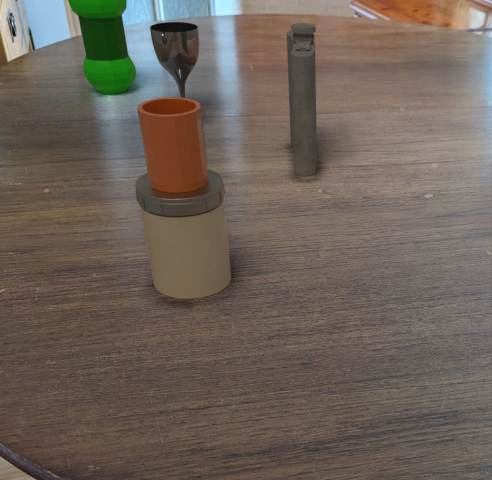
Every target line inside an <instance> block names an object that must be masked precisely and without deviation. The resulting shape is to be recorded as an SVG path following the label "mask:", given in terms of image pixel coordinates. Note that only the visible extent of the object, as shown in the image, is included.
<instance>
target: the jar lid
mask: <svg viewBox="0 0 492 480" xmlns="http://www.w3.org/2000/svg"><path fill="white" fill-rule="evenodd" d="M208 178H209V181H208V183H207V184H206V185H205V186H204V187H202V188H200V189H197V190H194V191H189V192H181V193H170V192H163V191H159V190H156V189H154V188H153V187H152V186H151V185H150V181H149V178H148V172H146V173H143V174H142V175H141V176H139V177H138V178H137V180H136V181H135V184H134V188H135V197H136V202H137V203H138V205H139V207H140V206H141V207H142V208H143V209H144V210H146V211H148V212H151V213H154V214H159V215H166V216H187V215H194V214H199V213H203V212H206V211H209V210H211V209H213V208H215V207H217V206H218V205H220V204H221V203H222V202H223V200H224V201H225V194H226V191H225V183H224V179H223V176H222V175H221V174H220V173H218V172H217V171H215V170H212V169H209V168H208Z"/></svg>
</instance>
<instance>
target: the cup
mask: <svg viewBox="0 0 492 480" xmlns="http://www.w3.org/2000/svg"><path fill="white" fill-rule="evenodd" d="M136 112H137V116H138V123H139V128H140V134H141V141H142V147H143V153H144V160H145V165H146V171H147V172H146V173H148V178H149V181H150V185H151V186H152V187H153V188H154V189H156V190H159V191H163V192H170V193H181V192H189V191H194V190H197V189H200V188H202V187H204V186H205V185H206V184H207V183H208V181H209V178H208V169H209V168H208V166H209V165H208V158H207V150H206V149H207V148H206V140H205V132H204V121H203V119H202V112H203V111H202V106H201V103H200V102H198V101H197V100H195V99H191V98H188V97H187V98H186V97H185V98H181V97H180V96H166V97H165V96H164V97H157V98H152V99H148V100H144V101H143V102H141V103H139V104H138V105H137V108H136Z"/></svg>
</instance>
